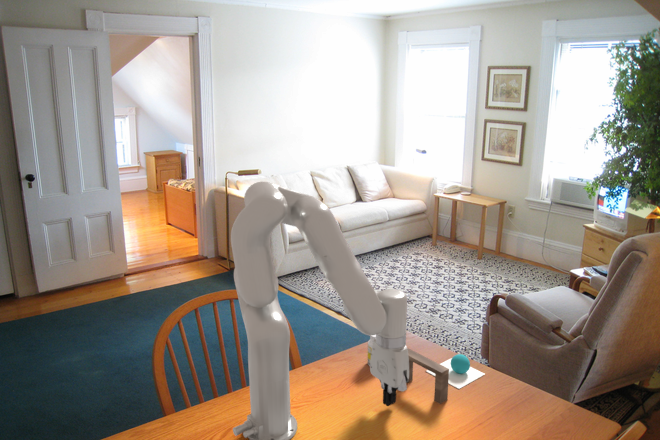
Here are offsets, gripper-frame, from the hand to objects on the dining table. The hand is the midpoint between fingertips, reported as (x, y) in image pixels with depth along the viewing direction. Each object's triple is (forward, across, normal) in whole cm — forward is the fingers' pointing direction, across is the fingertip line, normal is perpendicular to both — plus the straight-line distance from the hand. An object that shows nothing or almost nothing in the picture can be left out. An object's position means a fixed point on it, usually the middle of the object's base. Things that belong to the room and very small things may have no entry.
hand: (389, 402), depth 136 cm
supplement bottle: (+2, -18, +13) cm, 22 cm away
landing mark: (+2, 0, +27) cm, 27 cm away
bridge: (+2, 0, +13) cm, 13 cm away
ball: (-1, +1, +28) cm, 28 cm away
